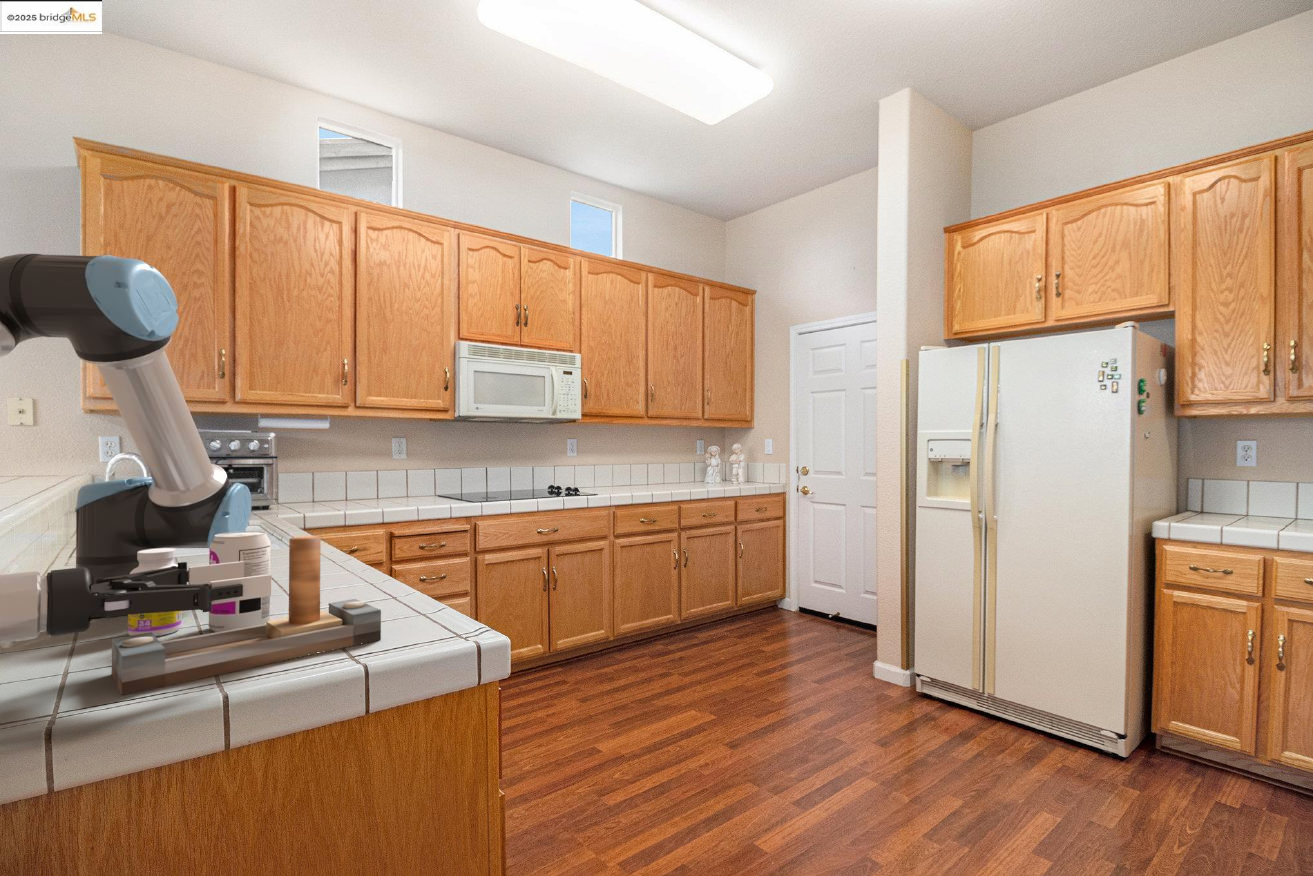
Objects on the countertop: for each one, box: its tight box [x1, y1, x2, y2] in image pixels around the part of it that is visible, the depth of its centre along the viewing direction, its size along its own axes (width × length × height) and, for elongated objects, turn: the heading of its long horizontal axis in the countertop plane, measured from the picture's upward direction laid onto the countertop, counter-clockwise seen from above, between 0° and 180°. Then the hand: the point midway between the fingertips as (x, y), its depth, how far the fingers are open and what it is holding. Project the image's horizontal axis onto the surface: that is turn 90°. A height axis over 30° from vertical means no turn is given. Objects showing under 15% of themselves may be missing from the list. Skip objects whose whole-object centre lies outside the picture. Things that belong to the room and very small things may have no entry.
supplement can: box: [208, 530, 271, 633], centre depth 103 cm, size 8×8×15 cm
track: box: [111, 598, 382, 695], centre depth 89 cm, size 10×30×5 cm, turn 136°
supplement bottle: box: [127, 548, 183, 638], centre depth 100 cm, size 7×7×13 cm
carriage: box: [266, 535, 342, 639], centre depth 93 cm, size 7×8×14 cm
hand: (256, 577), depth 89 cm, fingers open, 13 cm apart
